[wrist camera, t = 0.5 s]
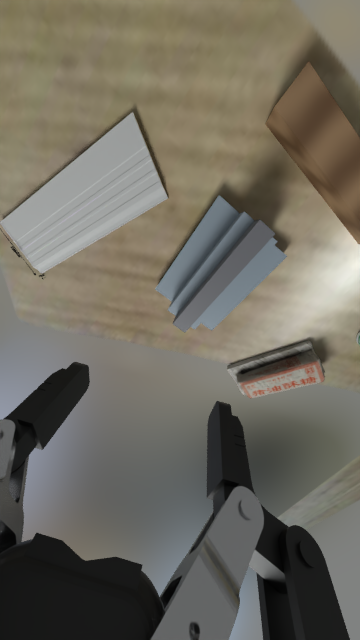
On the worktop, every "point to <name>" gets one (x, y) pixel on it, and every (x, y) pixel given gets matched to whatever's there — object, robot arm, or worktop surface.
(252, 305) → the worktop surface
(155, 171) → the baseboard molding
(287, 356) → the packaged product
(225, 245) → the ridge stand
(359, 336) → the supplement bottle
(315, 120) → the walnut batten
